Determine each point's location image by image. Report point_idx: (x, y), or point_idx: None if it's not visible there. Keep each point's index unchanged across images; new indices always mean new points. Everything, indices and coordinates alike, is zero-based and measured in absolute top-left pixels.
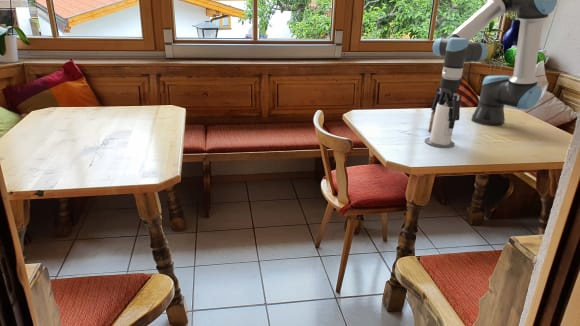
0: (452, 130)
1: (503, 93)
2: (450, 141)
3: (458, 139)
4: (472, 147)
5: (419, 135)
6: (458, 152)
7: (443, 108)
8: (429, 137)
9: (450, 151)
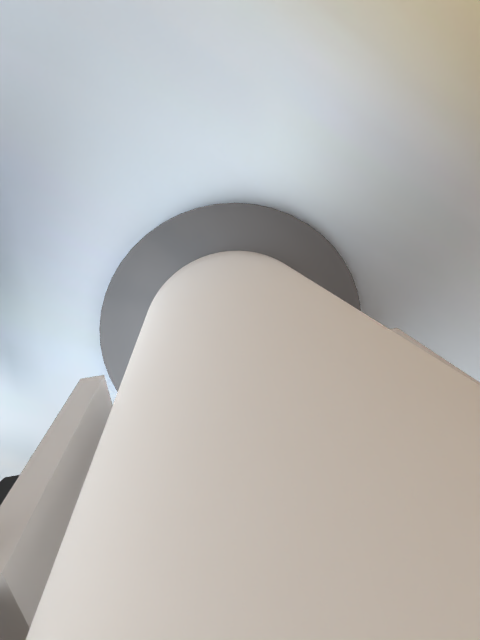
0: (438, 357)
1: None
2: (227, 228)
3: (100, 57)
4: (372, 38)
5: (25, 430)
6: (463, 269)
7: None
8: (114, 385)
9: (430, 325)
